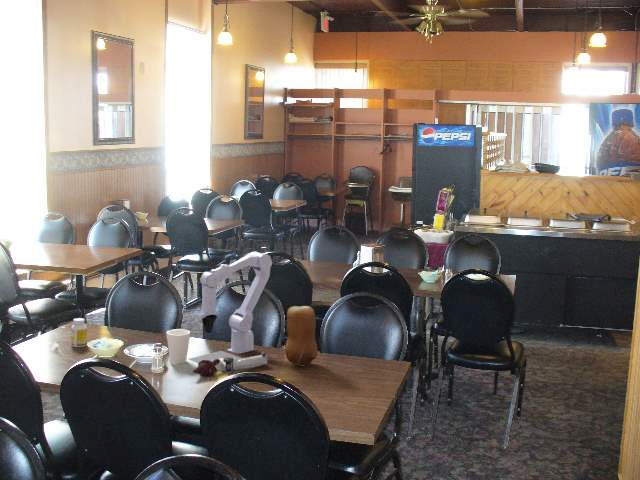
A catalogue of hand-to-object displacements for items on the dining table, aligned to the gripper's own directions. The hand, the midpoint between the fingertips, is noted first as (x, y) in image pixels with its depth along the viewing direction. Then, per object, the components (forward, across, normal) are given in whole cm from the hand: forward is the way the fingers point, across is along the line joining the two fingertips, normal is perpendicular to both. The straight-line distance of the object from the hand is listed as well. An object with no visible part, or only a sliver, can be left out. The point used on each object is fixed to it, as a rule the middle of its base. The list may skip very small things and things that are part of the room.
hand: (208, 332), depth 327 cm
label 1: (+10, -4, -11) cm, 15 cm away
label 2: (+10, -8, -15) cm, 20 cm away
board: (+10, -5, -11) cm, 16 cm away
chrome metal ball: (+10, -14, -18) cm, 26 cm away
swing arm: (+9, -8, -22) cm, 25 cm away
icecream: (+11, -22, -13) cm, 28 cm away
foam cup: (+11, -14, +6) cm, 18 cm away
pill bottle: (+11, -15, +56) cm, 59 cm away
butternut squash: (+10, +9, -39) cm, 41 cm away
